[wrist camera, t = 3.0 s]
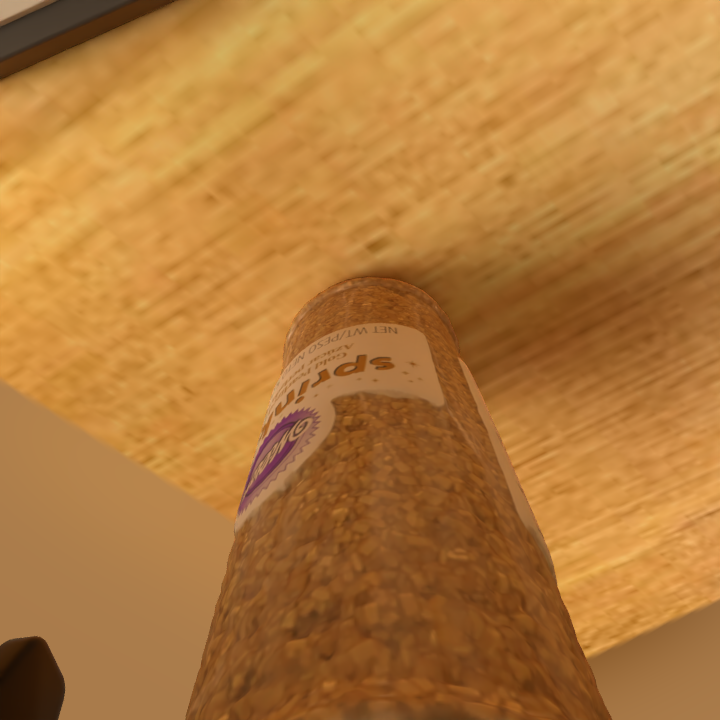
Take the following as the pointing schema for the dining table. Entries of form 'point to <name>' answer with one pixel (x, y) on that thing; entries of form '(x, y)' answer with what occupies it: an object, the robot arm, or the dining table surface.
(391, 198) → the dining table surface
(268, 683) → the sprinkles bottle
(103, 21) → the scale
